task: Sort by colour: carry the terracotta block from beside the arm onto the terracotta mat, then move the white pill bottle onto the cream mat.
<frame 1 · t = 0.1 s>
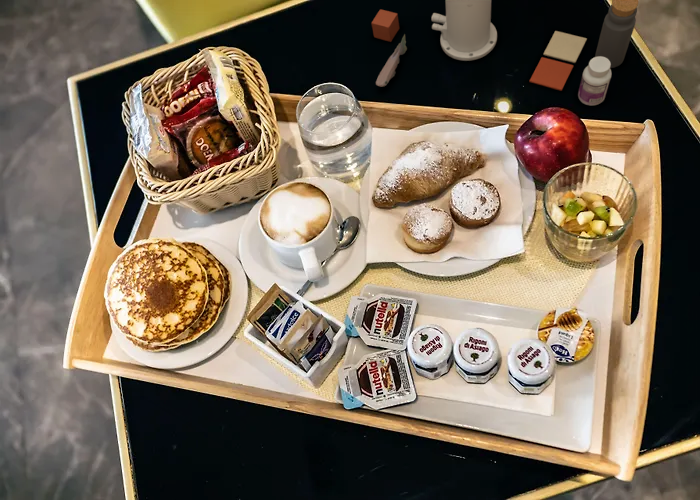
bottle: (609, 58, 129), on the table
clay pad: (551, 74, 129), on the table
pill bottle: (591, 97, 125), on the table
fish: (394, 72, 138), on the table
terracotta block: (386, 32, 143), on the table
cream pad: (564, 47, 132), on the table
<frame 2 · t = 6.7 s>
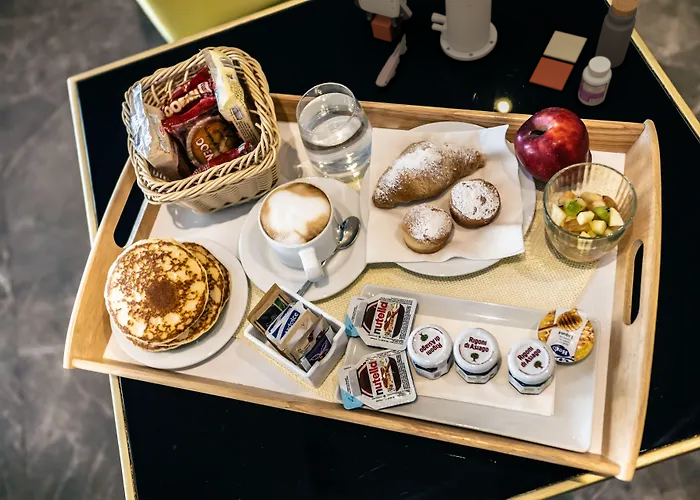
hand: (386, 31, 143), 0 cm above the table, tool pointing down, fingers closed on terracotta block, 4 cm apart
terracotta block: (386, 32, 143), on the table, touching gripper
everything else where it was.
when the fingers open (1 cm above the table, at t = 16.5 s): terracotta block stays where it is, resting on clay pad.
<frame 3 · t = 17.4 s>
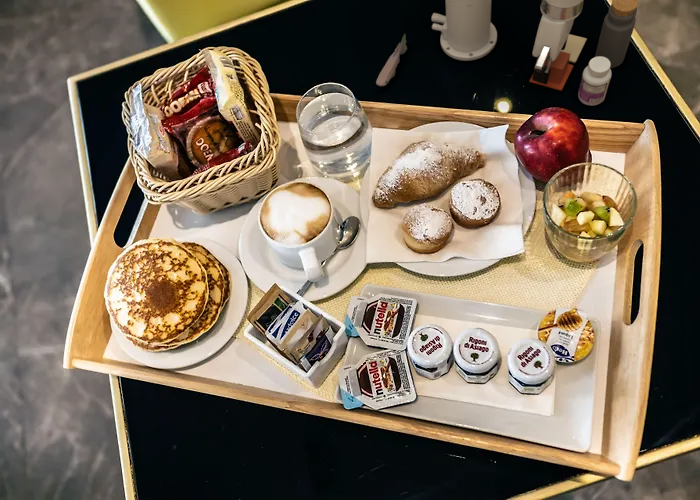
hand: (548, 64, 128), 3 cm above the table, tool pointing down, fingers open, 9 cm apart
terracotta block: (553, 73, 129), resting on clay pad
everything else where it was.
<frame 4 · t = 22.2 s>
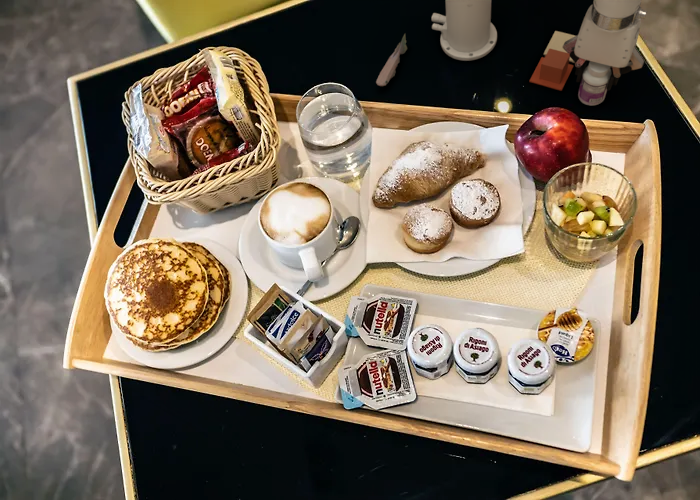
hand: (595, 80, 121), 5 cm above the table, tool pointing down, fingers closed on pill bottle, 5 cm apart
pill bottle: (591, 97, 125), on the table, touching gripper
everything else where it was.
when the fingers open (5 cm above the table, at t = 29.6 s): pill bottle stays where it is, resting on cream pad.
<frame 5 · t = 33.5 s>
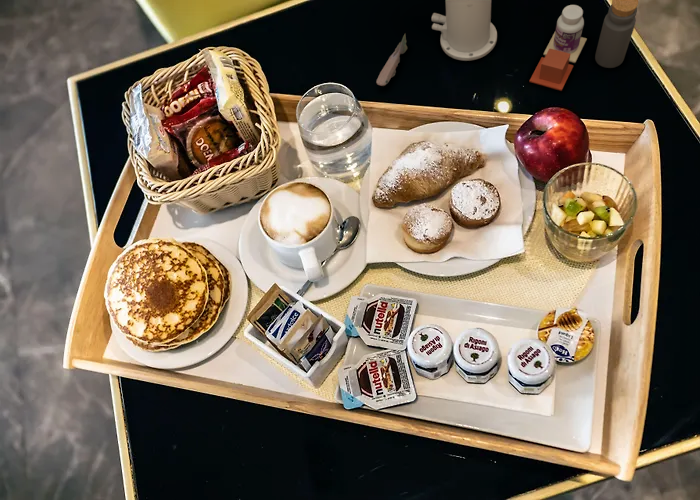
pill bottle: (565, 46, 132), resting on cream pad
everything else where it was.
at the end: terracotta block inside the target area on the clay pad (0.4 cm from its centre), point 0.4 cm above the clay pad's base; pill bottle inside the target area on the cream pad (0.1 cm from its centre), point 0.2 cm above the cream pad's base; pill bottle tilted 0° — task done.
